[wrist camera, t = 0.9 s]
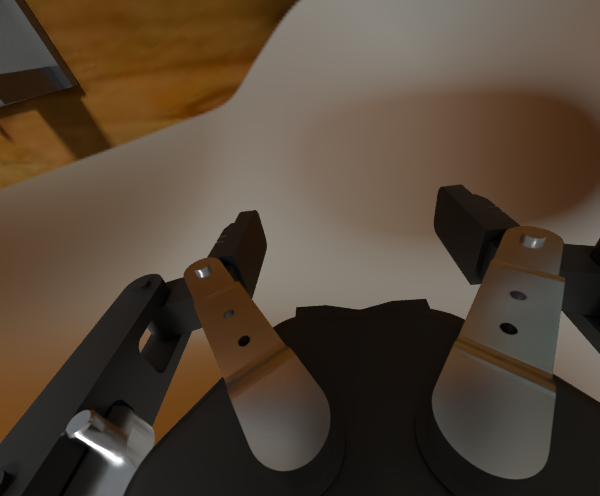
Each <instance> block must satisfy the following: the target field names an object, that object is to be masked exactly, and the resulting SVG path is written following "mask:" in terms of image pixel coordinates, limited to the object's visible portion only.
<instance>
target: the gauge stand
mask: <svg viewBox="0 0 600 496" xmlns="http://www.w3.org/2000/svg"><path fill="white" fill-rule="evenodd" d="M77 85H79V84H78V82H77V81H76V79H75V78H74V76H73V74H72V73H71V71H70V70H69V68H68V67H67V65H66V64H65V62H64V61H63V59H62V58H61V56H60V55H59V53H58V52H57V50H56V48H55V47H54V45H53V44H52V42H51V41H50V39H49V38H48V36H47V35H46V33H45V32H44V30H43V29H42V27H41V26H40V24H39V23H38V21H37V19H36V18H35V16H34V15H33V13H32V12H31V10H30V9H29V7H28V6H27V4H26V3H25V1H24V0H0V107H2V106H6V105H9V104H13V103H16V102H20V101H24V100H27V99H31V98H34V97H38V96H42V95H45V94H49V93H52V92H56V91H59V90H63V89H67V88H70V87H74V86H77Z"/></svg>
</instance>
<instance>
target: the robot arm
mask: <svg viewBox="0 0 600 496" xmlns="http://www.w3.org/2000/svg"><path fill="white" fill-rule="evenodd" d="M434 229H435V232H436V234H437V236H438V237H439V239H440V240H441V242H442V243H443V245H444V246H445V248H446V249H447V251H448V252H449V254H450V255H451V257H452V258H453V260H454V261H455V262H456V264H457V265H458V267H459V268H460V270H461V271H462V273H463V274H464V276H465V277H466V279H467V280H468V282H469V283H470V285H475V284H481V285H480V288H479V290H478V292H477V295H476V297H475V299H474V301H473V304H472V306H471V308H470V311H469V313H468V315H467V317H466V320H464V319H462V318H460V317H457V316H455V315H453V314H450V313H446V312H443V311H438V310H434V309H430V307H429V305H428V303H427V300H426V299H417V300H401V301H391V302H387V303H383V304H380V305H376V306H372V307H369V308H366V309H361V310H356V309H349V308H342V307H335V306H327V305H324V306H309V307H296V316H295V317H293V318H290V319H288V320H285V321H283V322H281V323H279V324H278V325H276V326H275V327H273V328H272V326H271V325H270V324H269V322H268V321H267V319H266V318H265V317H264V315H263V314H262V312H261V311H260V310H259V308H258V307H257V306H256V304H255V303H254V302H253V300H252V298H253V294H254V291H255V287H256V284H257V280H258V277H259V274H260V270H261V267H262V264H263V260H264V257H265V253H266V250H267V243H266V237H265V234H264V230H263V227H262V224H261V220H260V217H259V214H258V212H257V211H256V210H253V211H245V212H241V213H239V215H238V217H237V219H236V221H235V223H231V224H230V225H229V226H228V227H226V228H225V229H224V230H223V232H222V233H221V235H220V237H219V239H218V240H217V243H216V244H215V245H214V247H213V249H212V250H211V252H210V254H209V255H208V257H207V258H204V259H201V260H199V261H197V262H195V263H193V264H191V265H190V266H189V267H188V268H187V269H186V270H185V272H184V277H183V278H179V279H176V280H173V281H170V282H166V283H165V282H164V280H163V279H162V277H161V276H160V275H158V274H149V275H145V276H143V277H140V278H138V279H136V280H135V281H133V282H132V283H130V284H129V285H128V286H127V287H126V288H125V289H124V290H123V292H122V293H121V294H120V295H119V297H118V298H117V299H116V300H115V301H114V303H113V304H112V305H111V306H110V308H109V309H108V310H107V311H106V313H105V314H104V315H103V316H102V318H101V319H100V320H99V321H98V323H97V324H96V325H95V326H94V328H93V329H92V330H91V332H90V333H89V334H88V335H87V336H86V338H85V339H84V340H83V341H82V343H81V344H80V345H79V346H78V348H77V349H76V350H75V351H74V353H73V354H72V355H71V356H70V358H69V359H68V360H67V361H66V362H65V364H64V365H63V366H62V367H61V369H60V370H59V371H58V372H57V374H56V375H55V376H54V377H53V379H52V380H51V381H50V382H49V384H48V385H47V386H46V387H45V389H44V390H43V391H42V392H41V394H40V395H39V396H38V397H37V399H36V400H35V401H34V402H33V404H32V405H31V406H30V407H29V409H28V410H27V411H26V412H25V413H24V415H23V416H22V417H21V418H20V420H19V421H18V422H17V423H16V425H15V426H14V427H13V428H12V430H11V431H10V432H9V433H8V435H7V436H6V437H5V438H4V440H3V441H2V442H1V443H0V496H600V402H598V401H596V400H595V399H593V398H592V397H590V396H589V395H587V394H585V393H584V392H582V391H580V390H579V389H577V388H576V387H574V386H572V385H571V384H569V383H567V382H566V381H564V380H563V379H561V378H559V377H558V376H556V375H554V374H553V367H554V360H555V352H556V345H557V337H558V330H559V322H560V314H561V311H563V312H564V313H565V315H566V316H567V317H568V318H569V319H570V320H571V322H572V323H573V324H574V325H575V326H576V327H577V328H578V330H579V331H580V332H581V333H582V334H583V335H584V336H585V338H586V339H587V340H588V341H589V342H590V343H591V344H592V345H593V347H594V348H595V349H596V350H597V351H598V352H599V353H600V239H599V240H598V242H597V244H596V245H595V246H586V245H572V244H564V242H563V239H562V238H561V237H560V236H558V235H557V234H555V233H553V232H551V231H549V230H546V229H542V228H538V227H532V226H520V225H519V224H518V223H516V222H515V221H514V220H513V219H511V218H510V217H509V216H508V215H507V214H505V213H504V212H502V210H500V209H499V208H498V207H495V205H494V204H493V203H492V202H491V201H489V200H488V199H486V198H484V197H481V196H479V195H476V194H472V193H471V192H469V191H468V190H467V189H466V188H465V187H464V186H463V185H453V186H445V187H440V189H439V190H438V195H437V202H436V209H435V216H434ZM146 328H148V329H149V331H150V332H151V333H152V334H151V336H150V337H149V339H148V341H147V343H146V344H145V346H144V348H143V350H142V352H141V353H140V351H139V341H140V338H141V337H142V335H143V333H144V331H145V330H146ZM200 328H203V330H204V332H205V334H206V337H207V339H208V342H209V344H210V346H211V349H212V351H213V354H214V356H215V359H216V361H217V363H218V366H219V368H220V371H221V373H222V376H223V377H222V378H221V379H220V380H219V381H218V382H217V383H216V384H215V385H214V386H213V387H212V388H211V389H210V390H209V391H208V392H207V393H206V394H205V395H204V396H203V397H202V398H201V399H200V400H199V401H198V402H197V403H196V404H195V405H194V406H193V407H192V408H191V409H190V410H189V411H188V413H186V414H185V415H184V416H183V417H182V418H181V419H180V420H179V421H178V423H177V424H176V425H175V426H174V427H172V429H171V430H170V431H169V432H168V433H167V434H166V435H165V436H164V437H163V438H162V439H161V440H160V441H159V442H158V443H157V444H156V445H155V446H154V447H153V445H154V431H153V428H152V425H153V423H154V421H155V418H156V416H157V413H158V411H159V409H160V406H161V404H162V402H163V399H164V397H165V394H166V392H167V390H168V387H169V385H170V383H171V380H172V378H173V375H174V373H175V371H176V368H177V366H178V364H179V361H180V359H181V356H182V354H183V352H184V349H185V347H186V344H187V342H188V339H189V337H190V335H191V332H192V331H193V330H197V329H200Z"/></svg>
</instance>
